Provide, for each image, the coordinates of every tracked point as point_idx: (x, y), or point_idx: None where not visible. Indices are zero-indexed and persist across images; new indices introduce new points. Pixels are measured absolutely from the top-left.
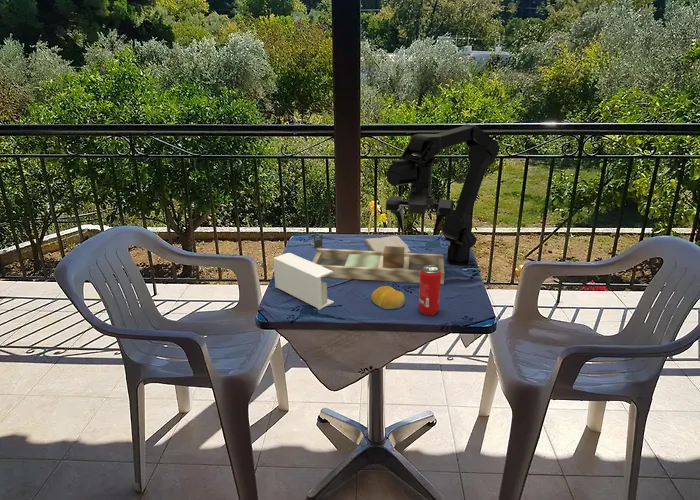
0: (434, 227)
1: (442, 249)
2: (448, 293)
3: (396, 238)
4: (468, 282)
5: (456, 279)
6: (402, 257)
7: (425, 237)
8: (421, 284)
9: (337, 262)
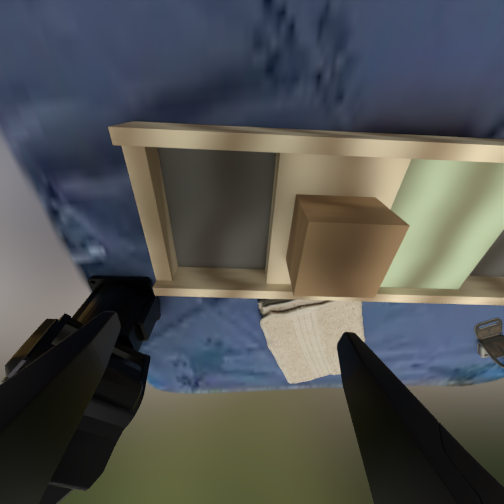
0: (58, 370)
1: (181, 345)
2: (88, 7)
3: (292, 373)
4: (47, 150)
5: (98, 173)
6: (309, 215)
7: (224, 385)
8: None
9: (487, 259)
